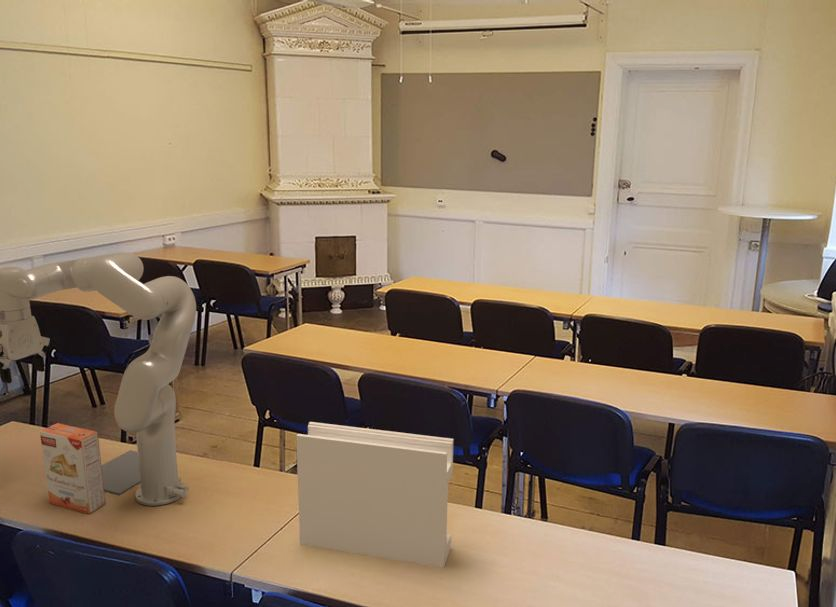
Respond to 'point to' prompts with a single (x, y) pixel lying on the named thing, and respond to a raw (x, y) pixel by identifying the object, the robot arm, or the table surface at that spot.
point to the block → (374, 492)
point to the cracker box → (73, 467)
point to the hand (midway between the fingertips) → (23, 376)
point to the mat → (121, 473)
